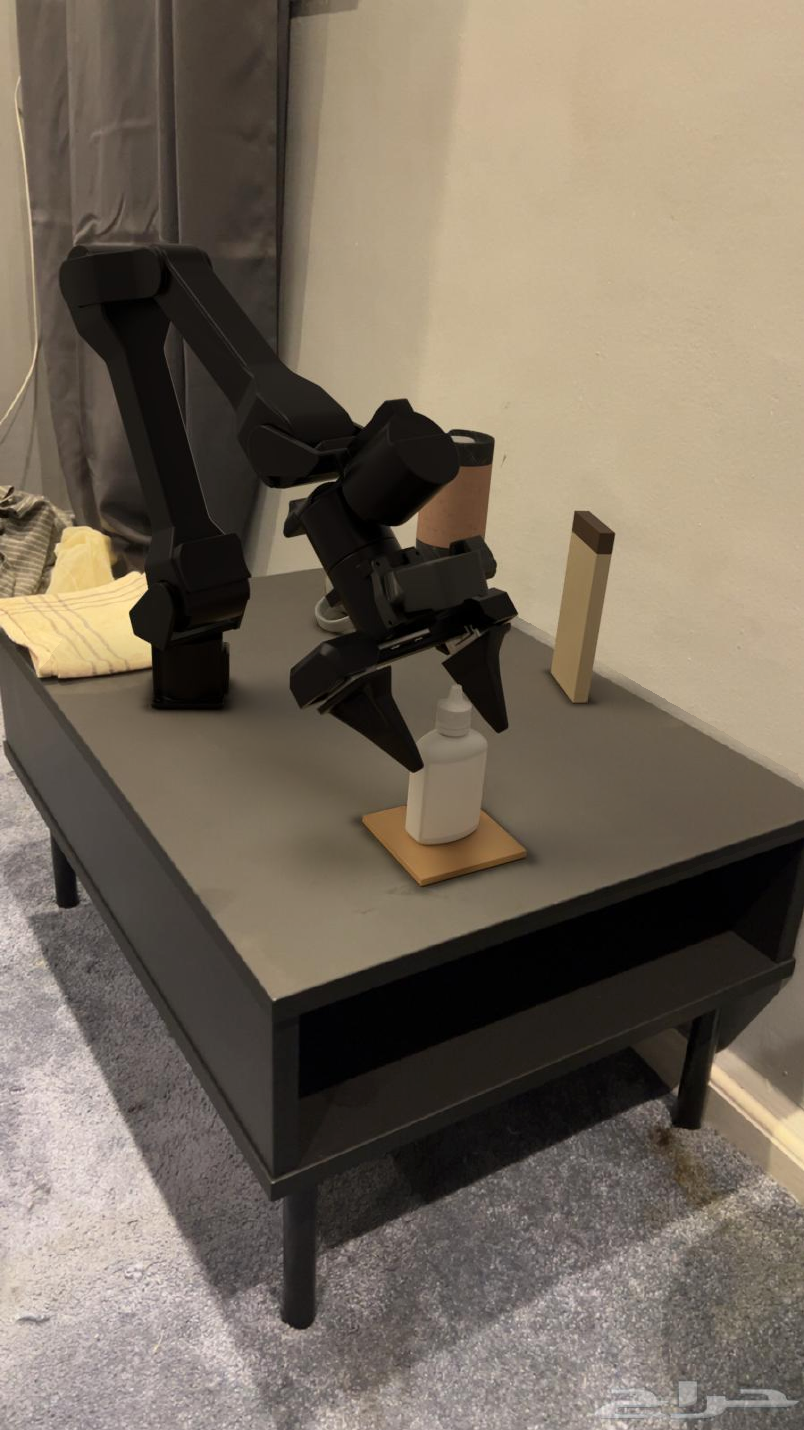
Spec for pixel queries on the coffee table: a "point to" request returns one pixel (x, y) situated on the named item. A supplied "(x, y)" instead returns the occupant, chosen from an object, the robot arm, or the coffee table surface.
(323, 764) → the coffee table surface
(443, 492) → the travel mug
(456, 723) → the eye dropper bottle
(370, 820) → the cork coaster mat
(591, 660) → the tall wooden plank
